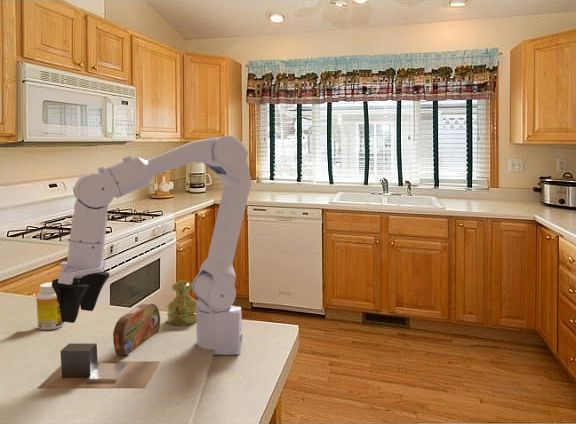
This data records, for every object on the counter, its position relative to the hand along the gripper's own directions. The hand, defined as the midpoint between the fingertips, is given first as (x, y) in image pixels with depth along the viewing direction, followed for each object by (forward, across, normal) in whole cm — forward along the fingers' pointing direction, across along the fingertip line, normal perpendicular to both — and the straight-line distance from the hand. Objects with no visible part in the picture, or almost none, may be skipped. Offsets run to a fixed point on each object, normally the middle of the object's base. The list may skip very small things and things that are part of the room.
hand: (78, 315), depth 82 cm
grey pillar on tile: (+10, +1, +4) cm, 11 cm away
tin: (+10, -14, +8) cm, 19 cm away
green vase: (+8, -30, +14) cm, 33 cm away
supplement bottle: (+12, -26, -16) cm, 32 cm away
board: (+11, 0, +6) cm, 12 cm away
